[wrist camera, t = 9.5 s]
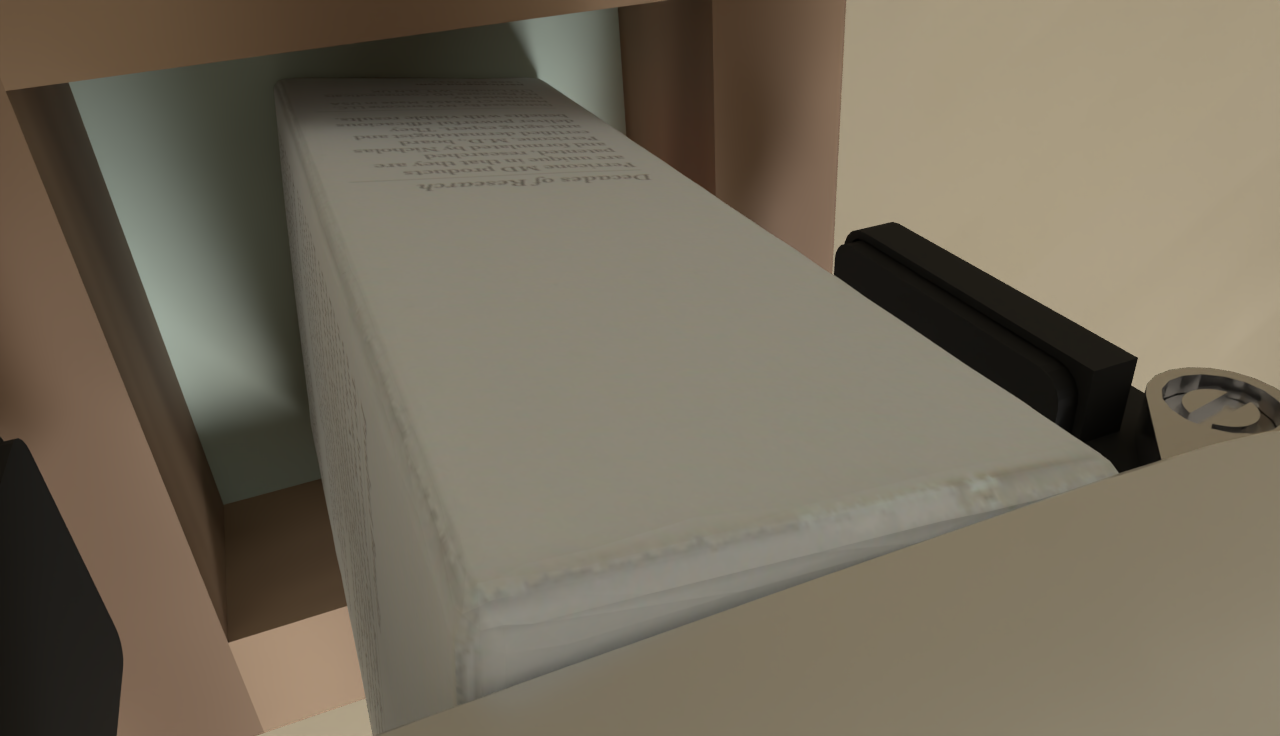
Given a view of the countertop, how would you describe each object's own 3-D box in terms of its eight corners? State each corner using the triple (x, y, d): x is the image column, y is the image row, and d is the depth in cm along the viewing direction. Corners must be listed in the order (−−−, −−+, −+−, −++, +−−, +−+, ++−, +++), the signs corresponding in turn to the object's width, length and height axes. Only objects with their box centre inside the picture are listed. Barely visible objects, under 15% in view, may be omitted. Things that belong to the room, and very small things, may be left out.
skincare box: (542, 389, 18) (937, 1037, 8) (307, 422, 16) (457, 1263, 7) (549, 61, 15) (1163, 466, 5) (264, 62, 14) (423, 630, 4)
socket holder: (812, -349, 15) (1011, -408, 11) (788, 469, 23) (899, 589, 19) (-500, -324, 10) (-897, -413, 6) (64, 694, 18) (29, 908, 15)
